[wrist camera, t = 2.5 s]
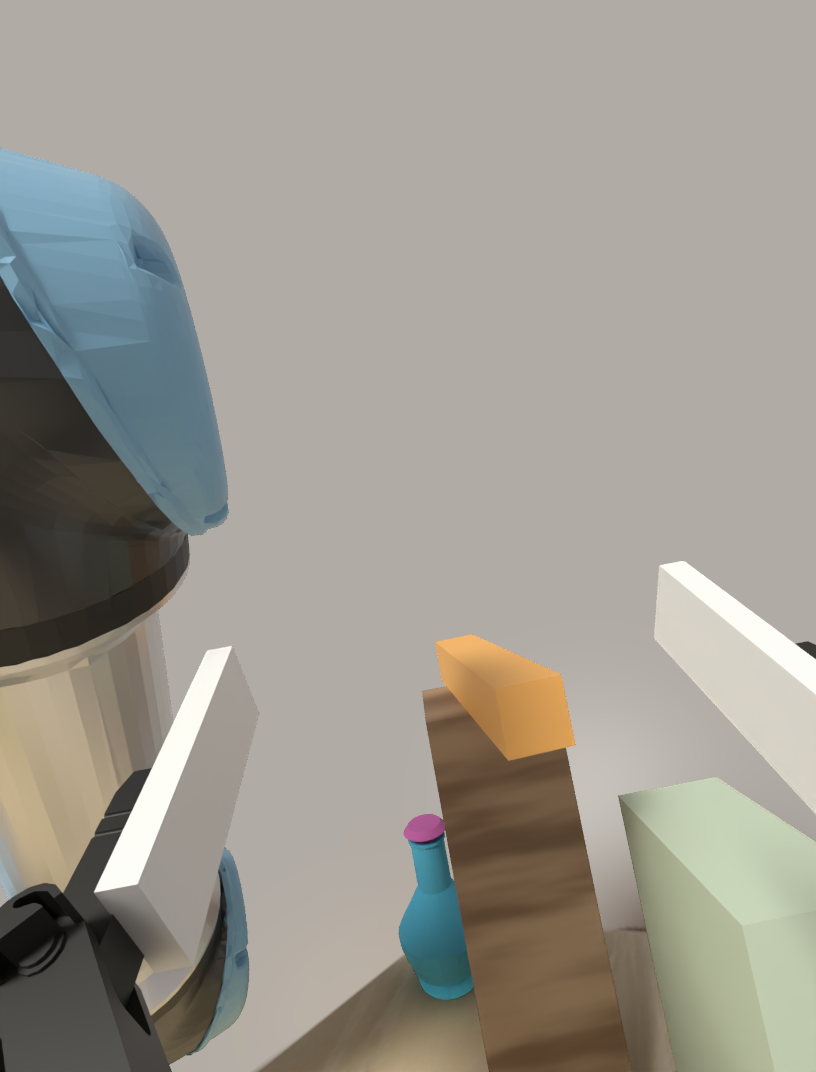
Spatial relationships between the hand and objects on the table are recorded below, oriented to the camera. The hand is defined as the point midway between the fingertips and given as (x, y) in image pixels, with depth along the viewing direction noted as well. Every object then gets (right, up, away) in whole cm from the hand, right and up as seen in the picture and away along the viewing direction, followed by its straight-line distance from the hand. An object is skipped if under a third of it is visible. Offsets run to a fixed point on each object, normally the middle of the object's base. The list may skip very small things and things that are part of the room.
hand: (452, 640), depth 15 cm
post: (+10, -40, +24) cm, 47 cm away
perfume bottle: (+3, -42, +35) cm, 55 cm away
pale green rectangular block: (+23, -37, +14) cm, 46 cm away
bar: (+5, -10, +23) cm, 26 cm away
